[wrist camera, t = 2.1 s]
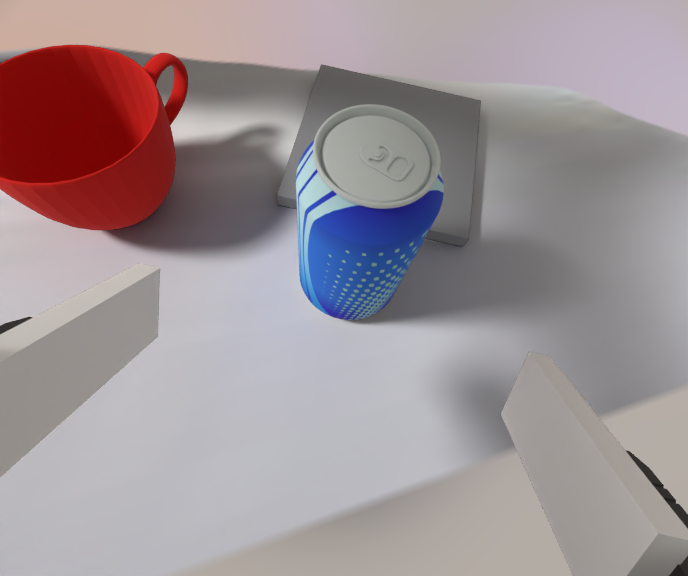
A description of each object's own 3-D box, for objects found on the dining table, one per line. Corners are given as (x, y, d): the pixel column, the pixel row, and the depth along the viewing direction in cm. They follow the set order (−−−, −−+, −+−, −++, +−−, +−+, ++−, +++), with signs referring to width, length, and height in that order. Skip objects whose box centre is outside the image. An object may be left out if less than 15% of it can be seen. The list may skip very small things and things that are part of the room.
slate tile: (277, 204, 37) (276, 195, 35) (320, 76, 44) (321, 64, 42) (462, 246, 37) (468, 238, 35) (475, 111, 44) (480, 100, 42)
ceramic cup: (252, 161, 38) (235, 70, 29) (120, 287, 32) (46, 222, 23) (155, 100, 40) (111, -4, 31) (13, 207, 34) (-94, 117, 25)
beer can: (314, 336, 32) (320, 238, 17) (289, 249, 35) (276, 103, 20) (407, 310, 34) (485, 202, 19) (376, 229, 37) (423, 81, 22)
